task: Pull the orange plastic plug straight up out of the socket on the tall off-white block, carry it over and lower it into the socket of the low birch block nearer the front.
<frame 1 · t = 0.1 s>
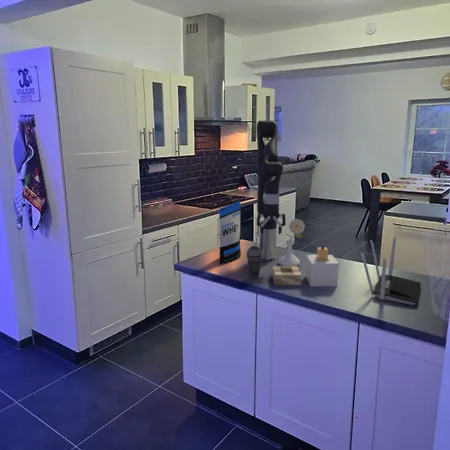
hand: (270, 234, 200), 17 cm above the countertop, tool pointing down, fingers open, 8 cm apart
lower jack: (286, 280, 185), on the countertop
protein powder: (230, 258, 217), on the countertop
wireless router: (389, 292, 172), on the countertop
plug: (321, 265, 182), point 8 cm above the countertop, touching upper jack
beverage cup: (253, 277, 189), on the countertop
flower in vase: (290, 265, 205), on the countertop
upper jack: (320, 281, 184), on the countertop
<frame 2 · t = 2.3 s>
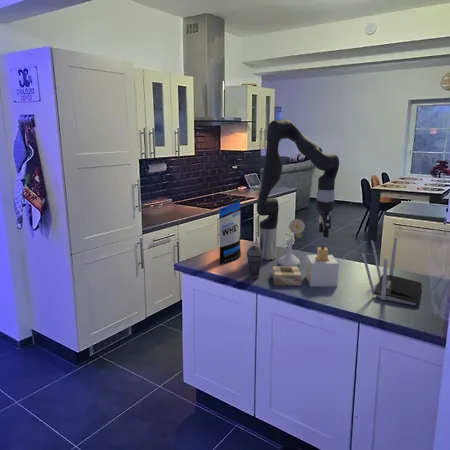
hand: (323, 234, 178), 23 cm above the countertop, tool pointing down, fingers open, 8 cm apart
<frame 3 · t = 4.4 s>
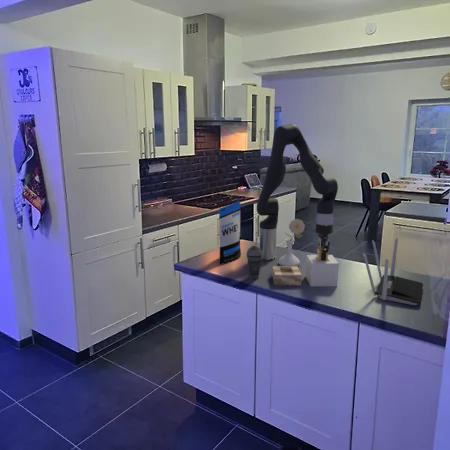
hand: (322, 258, 181), 11 cm above the countertop, tool pointing down, fingers closed on plug, 4 cm apart
plug: (321, 265, 182), point 8 cm above the countertop, touching gripper, upper jack
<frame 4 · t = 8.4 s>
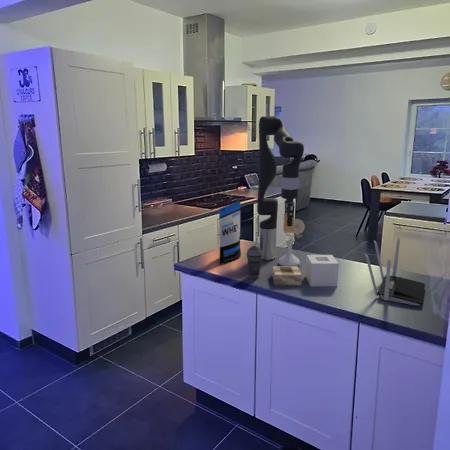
hand: (288, 224, 178), 27 cm above the countertop, tool pointing down, fingers closed on plug, 4 cm apart
plug: (288, 231, 179), point 24 cm above the countertop, touching gripper
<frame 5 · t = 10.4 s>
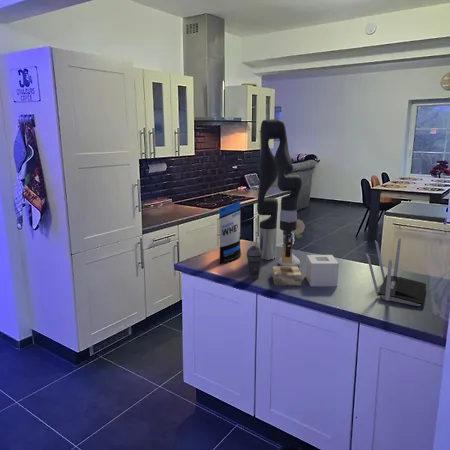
hand: (287, 255, 182), 13 cm above the countertop, tool pointing down, fingers closed on plug, 4 cm apart
plug: (286, 261, 183), point 9 cm above the countertop, touching gripper
when the fingers open (7 cm above the countertop, at t = 12.3 s): plug drops 1 cm, resting on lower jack.
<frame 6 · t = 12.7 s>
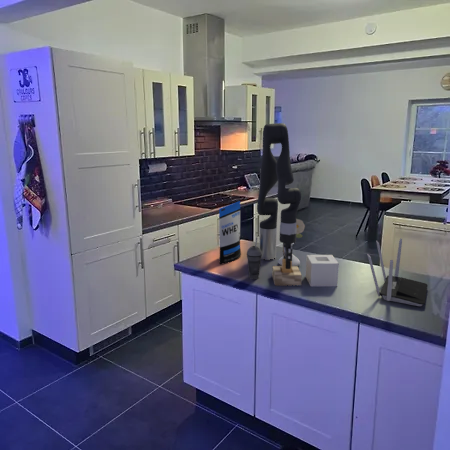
hand: (286, 265, 183), 7 cm above the countertop, tool pointing down, fingers open, 7 cm apart
plug: (286, 276, 184), point 2 cm above the countertop, touching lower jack
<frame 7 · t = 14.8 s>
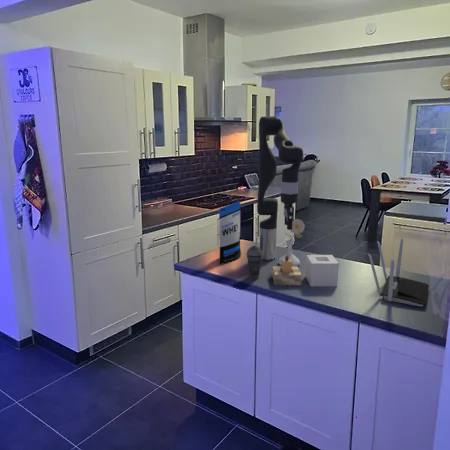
hand: (288, 227, 179), 26 cm above the countertop, tool pointing down, fingers open, 8 cm apart
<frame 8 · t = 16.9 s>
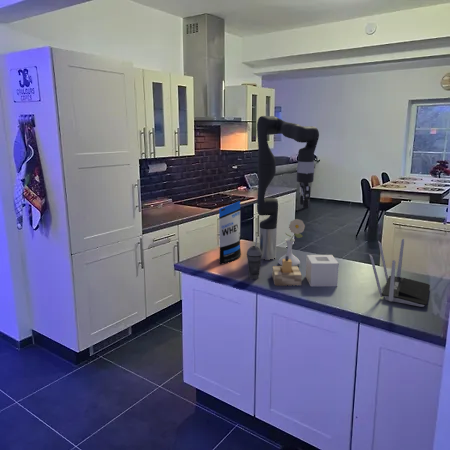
hand: (303, 206, 183), 34 cm above the countertop, tool pointing down, fingers open, 8 cm apart
at the end: plug 0.1 cm off-centre on the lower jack, point 2.0 cm above the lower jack's base; plug tilted 0°; the gripper is holding nothing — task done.
